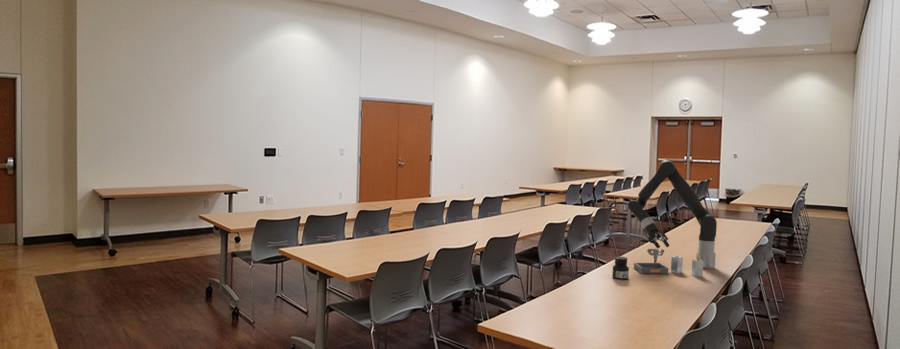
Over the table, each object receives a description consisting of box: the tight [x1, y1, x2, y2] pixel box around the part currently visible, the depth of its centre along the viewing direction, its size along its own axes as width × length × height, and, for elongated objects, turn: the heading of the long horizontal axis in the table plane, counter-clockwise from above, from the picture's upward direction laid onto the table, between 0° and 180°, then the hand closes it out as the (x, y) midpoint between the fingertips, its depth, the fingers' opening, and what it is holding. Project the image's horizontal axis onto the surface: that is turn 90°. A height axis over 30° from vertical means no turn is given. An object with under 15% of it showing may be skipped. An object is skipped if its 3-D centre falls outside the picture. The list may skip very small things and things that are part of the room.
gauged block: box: [691, 252, 704, 278], centre depth 336 cm, size 4×4×14 cm
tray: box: [633, 262, 669, 275], centre depth 346 cm, size 16×14×4 cm
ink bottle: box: [611, 256, 630, 281], centre depth 327 cm, size 10×9×12 cm
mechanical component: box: [646, 248, 665, 263], centre depth 363 cm, size 3×10×10 cm, turn 89°
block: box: [670, 255, 684, 274], centre depth 344 cm, size 4×4×10 cm
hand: (663, 247), depth 352 cm, fingers open, 8 cm apart
